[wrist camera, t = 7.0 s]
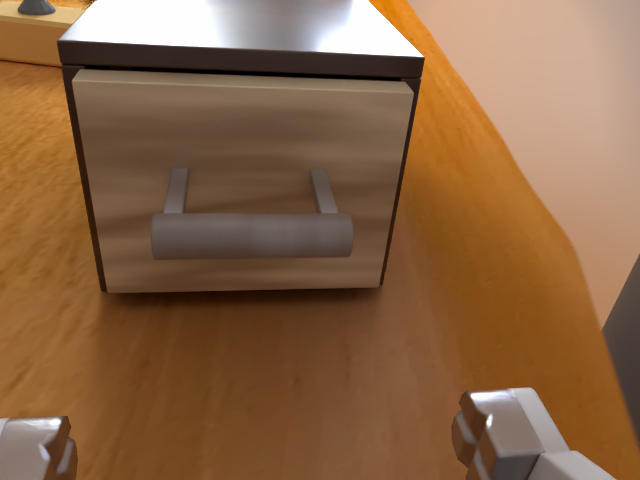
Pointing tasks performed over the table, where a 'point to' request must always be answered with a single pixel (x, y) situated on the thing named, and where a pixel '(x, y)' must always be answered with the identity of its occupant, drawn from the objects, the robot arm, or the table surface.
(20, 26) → the rubber stamp
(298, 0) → the cabinet
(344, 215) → the drawer
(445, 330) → the table surface
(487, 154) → the table surface
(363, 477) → the table surface
